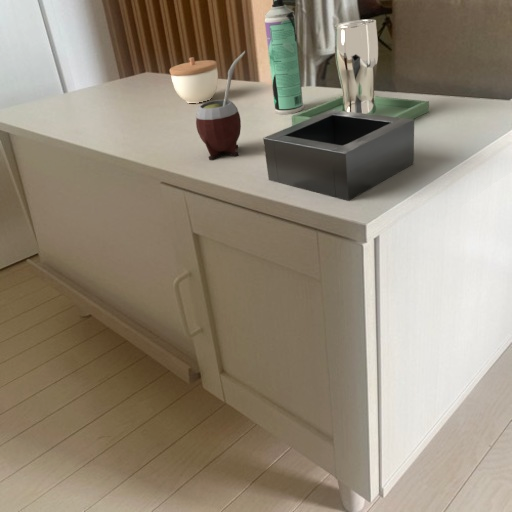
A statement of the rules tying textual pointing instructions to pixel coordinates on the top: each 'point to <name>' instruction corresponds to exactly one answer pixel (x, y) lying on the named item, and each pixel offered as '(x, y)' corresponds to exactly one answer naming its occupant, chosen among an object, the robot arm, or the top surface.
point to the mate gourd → (220, 123)
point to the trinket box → (195, 80)
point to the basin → (340, 152)
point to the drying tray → (383, 106)
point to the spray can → (284, 58)
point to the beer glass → (357, 64)
